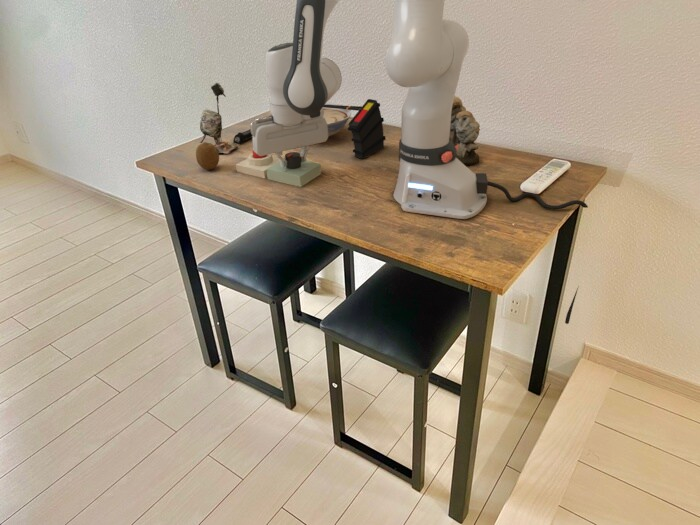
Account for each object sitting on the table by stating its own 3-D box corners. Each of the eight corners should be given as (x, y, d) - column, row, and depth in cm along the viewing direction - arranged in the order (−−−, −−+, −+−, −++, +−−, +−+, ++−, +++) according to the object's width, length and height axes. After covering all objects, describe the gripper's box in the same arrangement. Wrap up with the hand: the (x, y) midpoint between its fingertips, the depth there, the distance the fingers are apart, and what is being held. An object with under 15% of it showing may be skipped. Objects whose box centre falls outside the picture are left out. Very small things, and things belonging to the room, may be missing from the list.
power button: (269, 155, 145) (268, 149, 144) (260, 160, 142) (260, 153, 141) (259, 153, 146) (258, 147, 145) (250, 157, 144) (249, 151, 143)
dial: (292, 162, 142) (290, 149, 140) (304, 164, 140) (302, 152, 138) (283, 167, 139) (281, 155, 137) (295, 170, 137) (293, 157, 135)
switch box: (286, 166, 147) (284, 152, 145) (264, 178, 141) (262, 164, 138) (258, 160, 152) (257, 146, 150) (236, 171, 145) (234, 158, 143)
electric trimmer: (275, 131, 172) (274, 122, 171) (240, 145, 162) (239, 135, 161) (267, 129, 174) (266, 120, 173) (232, 143, 164) (231, 133, 162)
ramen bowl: (265, 143, 163) (261, 118, 158) (299, 121, 180) (296, 97, 176) (338, 153, 154) (337, 126, 150) (366, 128, 171) (365, 103, 167)
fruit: (196, 168, 148) (190, 141, 144) (218, 163, 151) (213, 136, 146) (201, 175, 144) (196, 148, 139) (224, 170, 146) (219, 143, 142)
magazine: (391, 139, 157) (378, 99, 146) (368, 170, 153) (353, 131, 141) (381, 137, 159) (367, 97, 148) (358, 167, 155) (342, 129, 143)
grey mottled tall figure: (214, 143, 165) (202, 78, 154) (241, 149, 160) (231, 82, 149) (195, 152, 159) (181, 85, 148) (223, 158, 154) (211, 89, 143)
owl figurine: (410, 158, 149) (412, 98, 139) (428, 145, 157) (430, 87, 147) (470, 170, 140) (476, 107, 131) (485, 155, 149) (492, 95, 139)
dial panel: (321, 173, 142) (320, 163, 140) (300, 187, 135) (299, 176, 133) (289, 166, 147) (287, 156, 145) (267, 179, 140) (266, 168, 138)
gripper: (253, 123, 125) (260, 176, 133) (329, 108, 133) (332, 159, 140) (244, 116, 130) (252, 168, 137) (318, 102, 138) (322, 152, 145)
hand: (293, 163), depth 139 cm, fingers closed on dial, 4 cm apart
